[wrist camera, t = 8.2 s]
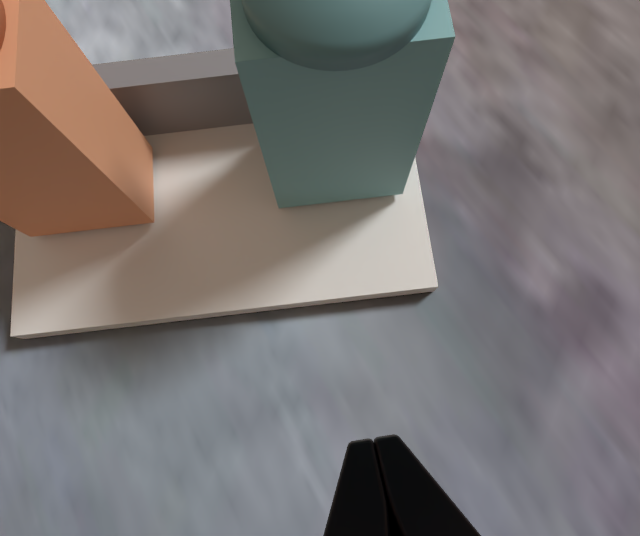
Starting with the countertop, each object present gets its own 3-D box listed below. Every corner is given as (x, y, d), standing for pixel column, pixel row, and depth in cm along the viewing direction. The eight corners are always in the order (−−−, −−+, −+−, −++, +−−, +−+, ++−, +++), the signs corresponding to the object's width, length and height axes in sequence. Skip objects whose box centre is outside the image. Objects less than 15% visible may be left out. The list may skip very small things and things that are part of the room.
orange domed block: (154, 235, 18) (-14, 83, 9) (29, 250, 18) (-257, 111, 9) (151, 135, 19) (-3, -85, 10) (33, 149, 19) (-220, -59, 10)
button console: (433, 291, 18) (459, 264, 14) (24, 339, 18) (-56, 324, 14) (399, 95, 20) (413, 27, 16) (33, 137, 20) (-36, 79, 16)
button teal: (404, 207, 18) (470, 28, 9) (279, 221, 18) (228, 56, 9) (388, 108, 19) (433, -135, 10) (270, 122, 19) (215, -110, 10)
